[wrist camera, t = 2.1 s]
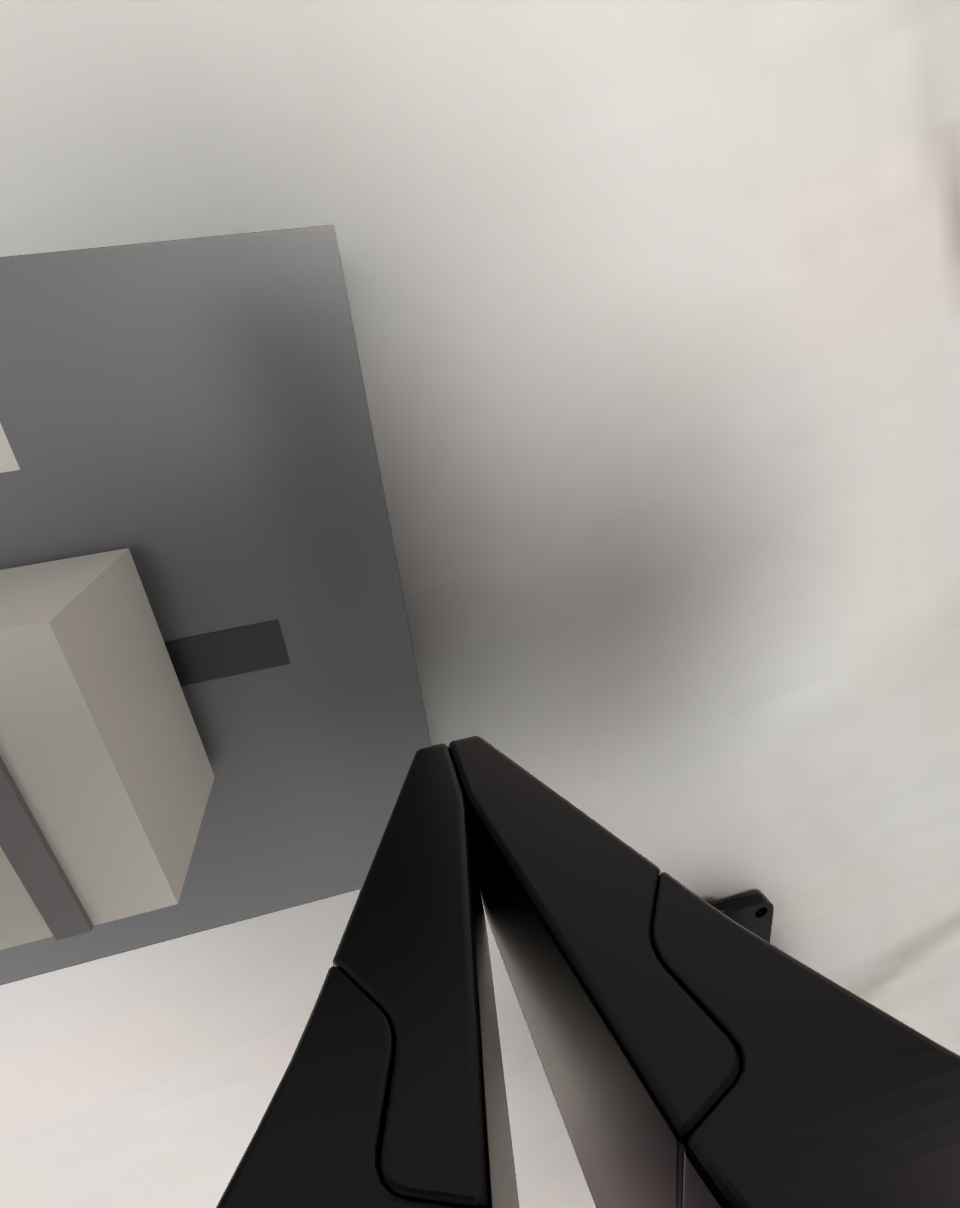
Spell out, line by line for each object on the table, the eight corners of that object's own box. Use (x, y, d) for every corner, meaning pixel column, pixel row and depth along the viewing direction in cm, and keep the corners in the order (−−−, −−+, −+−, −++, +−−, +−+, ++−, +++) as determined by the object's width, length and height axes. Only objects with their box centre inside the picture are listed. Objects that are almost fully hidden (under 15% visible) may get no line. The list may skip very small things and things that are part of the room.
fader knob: (214, 776, 12) (176, 909, 9) (58, 812, 12) (-34, 963, 9) (128, 547, 10) (45, 625, 7) (-64, 580, 10) (-236, 677, 7)
